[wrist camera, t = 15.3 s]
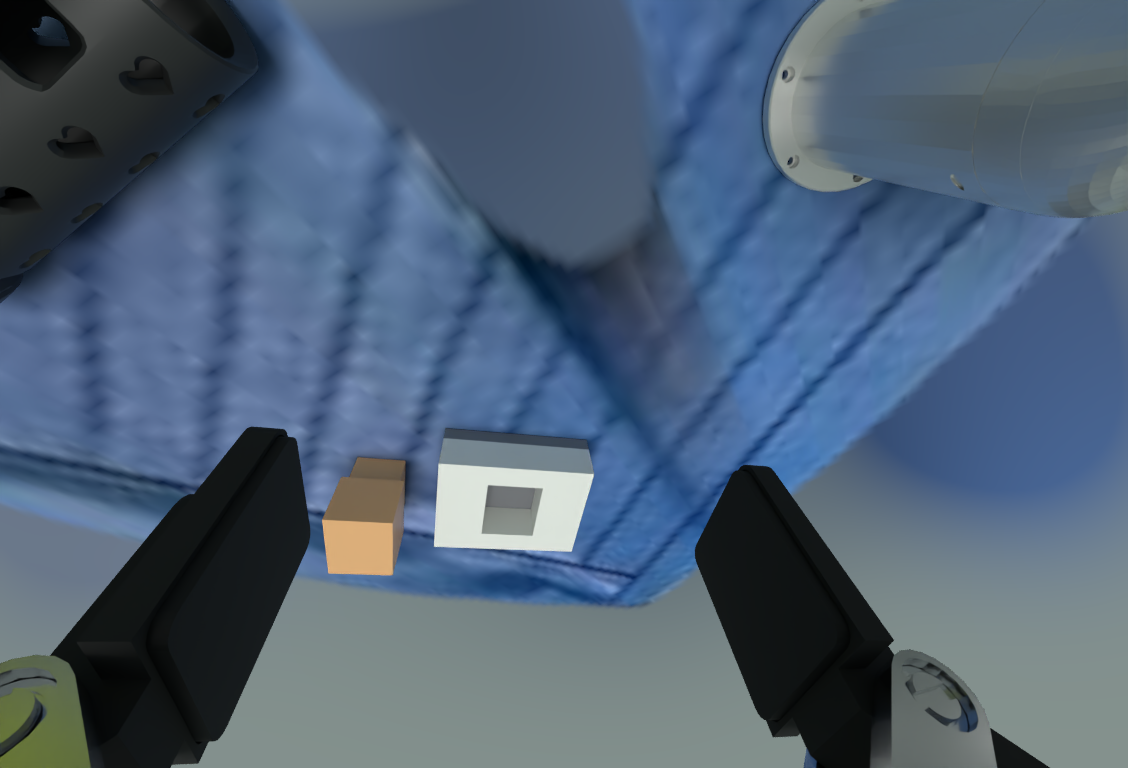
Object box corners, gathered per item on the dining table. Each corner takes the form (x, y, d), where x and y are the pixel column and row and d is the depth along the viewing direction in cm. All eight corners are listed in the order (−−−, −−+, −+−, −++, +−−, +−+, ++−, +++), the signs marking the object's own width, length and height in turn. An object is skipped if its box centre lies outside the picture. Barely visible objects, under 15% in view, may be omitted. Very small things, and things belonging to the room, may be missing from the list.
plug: (410, 457, 45) (392, 523, 38) (409, 506, 48) (392, 575, 42) (352, 452, 44) (322, 519, 37) (355, 503, 47) (328, 573, 40)
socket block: (586, 439, 46) (594, 474, 42) (566, 514, 52) (571, 551, 47) (445, 428, 43) (438, 463, 39) (440, 508, 49) (434, 546, 45)
